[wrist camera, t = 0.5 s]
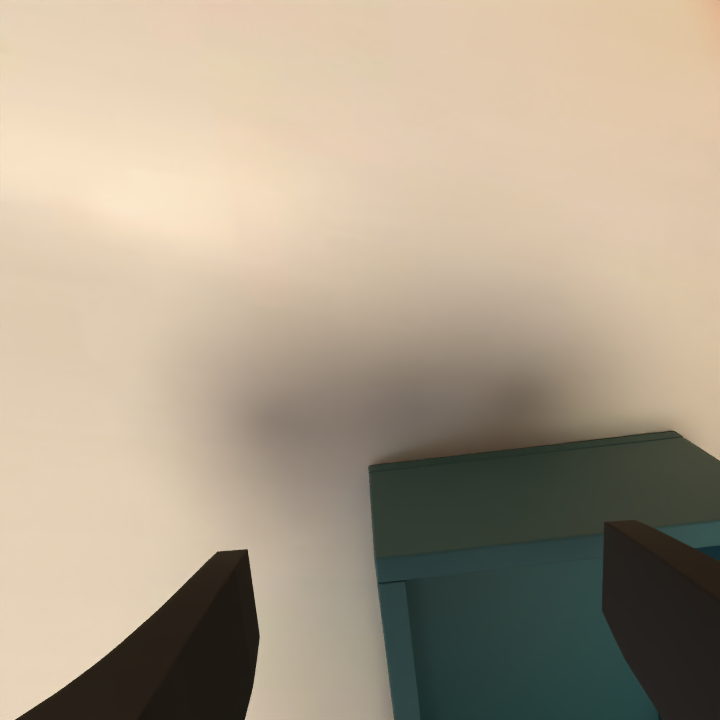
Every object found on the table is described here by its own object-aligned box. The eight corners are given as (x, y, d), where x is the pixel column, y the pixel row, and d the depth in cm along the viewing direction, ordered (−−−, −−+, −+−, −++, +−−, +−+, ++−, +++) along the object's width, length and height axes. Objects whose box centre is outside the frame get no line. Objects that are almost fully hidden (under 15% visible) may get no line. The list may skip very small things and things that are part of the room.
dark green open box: (668, 741, 25) (768, 905, 19) (405, 768, 25) (421, 940, 19) (674, 430, 21) (800, 512, 15) (368, 465, 21) (374, 558, 15)
